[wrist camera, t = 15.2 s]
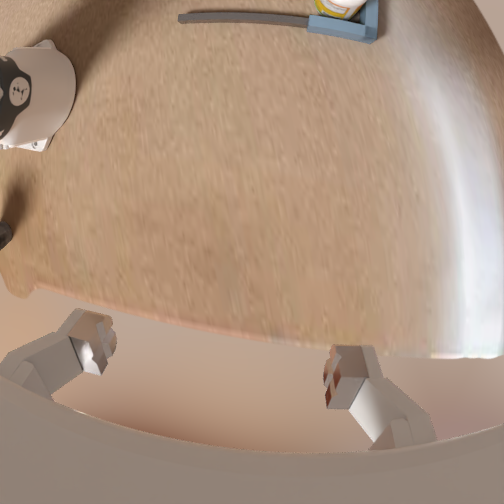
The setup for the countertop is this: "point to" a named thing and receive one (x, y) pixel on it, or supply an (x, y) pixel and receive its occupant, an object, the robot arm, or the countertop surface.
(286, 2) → the countertop surface
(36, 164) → the countertop surface
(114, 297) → the countertop surface
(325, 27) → the socket block
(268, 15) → the guide rails
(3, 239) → the beverage cup
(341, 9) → the supplement bottle
